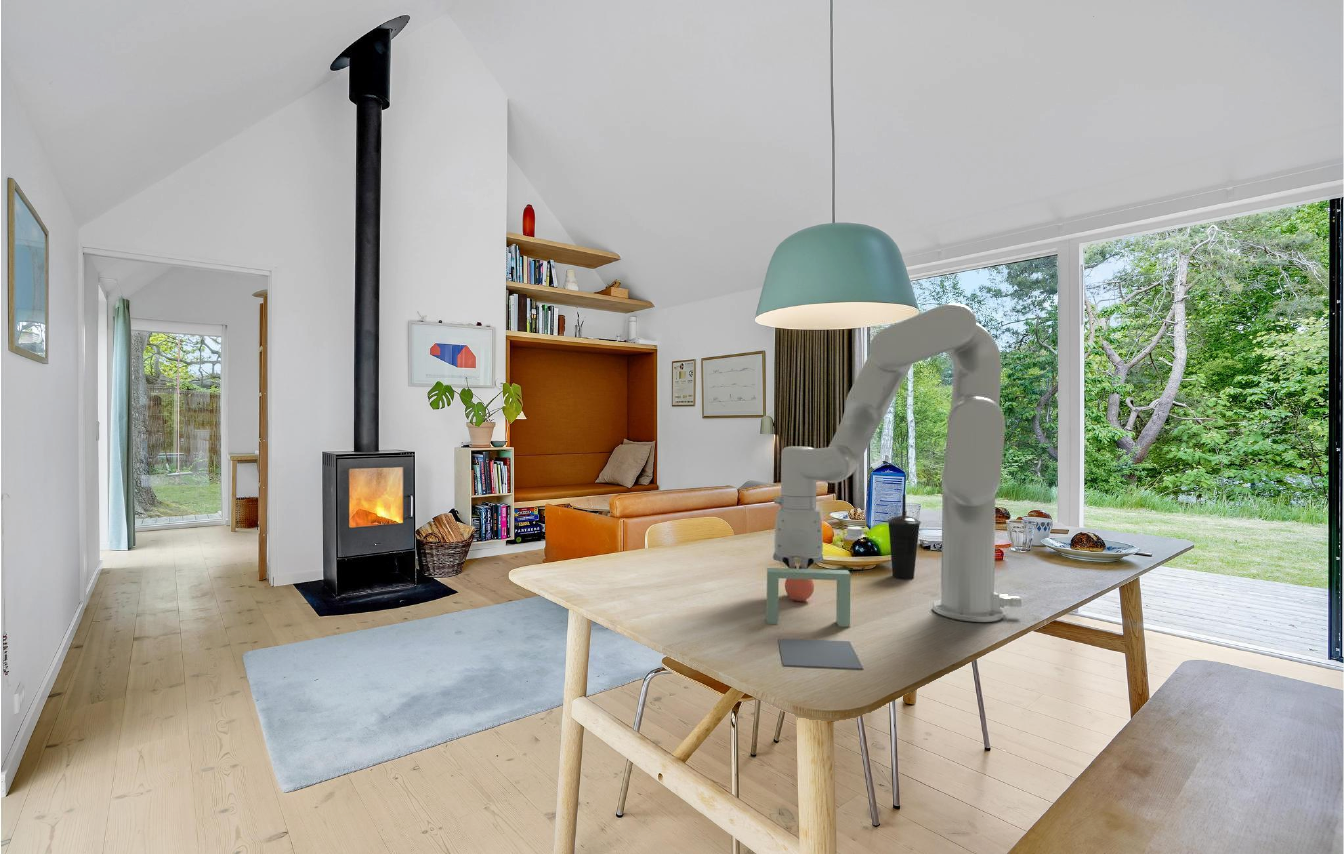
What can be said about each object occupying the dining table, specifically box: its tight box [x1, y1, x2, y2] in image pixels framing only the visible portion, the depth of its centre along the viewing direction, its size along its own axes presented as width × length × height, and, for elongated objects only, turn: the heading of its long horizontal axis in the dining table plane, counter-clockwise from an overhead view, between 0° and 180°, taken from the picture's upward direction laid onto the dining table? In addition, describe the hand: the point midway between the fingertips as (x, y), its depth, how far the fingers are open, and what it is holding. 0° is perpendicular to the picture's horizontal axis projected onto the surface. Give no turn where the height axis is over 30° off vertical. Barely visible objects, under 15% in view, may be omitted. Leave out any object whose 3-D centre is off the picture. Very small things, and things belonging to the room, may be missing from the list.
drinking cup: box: [886, 493, 922, 580], centre depth 156 cm, size 8×8×20 cm
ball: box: [784, 579, 815, 602], centre depth 135 cm, size 6×6×6 cm
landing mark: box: [777, 637, 864, 671], centre depth 104 cm, size 12×12×1 cm
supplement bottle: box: [842, 526, 866, 570], centre depth 166 cm, size 6×6×10 cm
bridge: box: [766, 567, 851, 628], centre depth 120 cm, size 3×15×10 cm, turn 84°
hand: (797, 587), depth 140 cm, fingers closed
